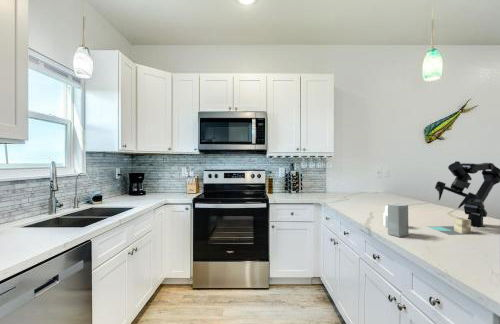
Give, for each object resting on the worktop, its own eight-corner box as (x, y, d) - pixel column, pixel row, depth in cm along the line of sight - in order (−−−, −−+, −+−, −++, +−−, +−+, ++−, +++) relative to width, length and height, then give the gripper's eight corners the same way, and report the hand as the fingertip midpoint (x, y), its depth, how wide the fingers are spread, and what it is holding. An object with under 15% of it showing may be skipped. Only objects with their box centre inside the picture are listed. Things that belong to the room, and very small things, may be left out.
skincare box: (399, 237, 133) (399, 206, 133) (386, 234, 140) (386, 203, 139) (409, 235, 137) (409, 204, 137) (396, 231, 144) (396, 202, 143)
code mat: (455, 226, 155) (455, 226, 155) (482, 234, 139) (482, 234, 139) (426, 226, 154) (426, 226, 154) (449, 235, 138) (449, 234, 138)
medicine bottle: (396, 225, 157) (396, 205, 157) (399, 228, 150) (399, 207, 150) (383, 224, 159) (383, 204, 159) (385, 227, 153) (385, 206, 152)
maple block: (462, 230, 145) (462, 217, 145) (470, 233, 140) (470, 220, 140) (453, 230, 145) (454, 218, 145) (461, 233, 140) (461, 220, 140)
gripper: (444, 168, 150) (431, 190, 146) (485, 182, 138) (472, 206, 135) (440, 177, 158) (429, 198, 155) (479, 191, 147) (467, 214, 143)
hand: (448, 204), depth 147 cm, fingers open, 9 cm apart
